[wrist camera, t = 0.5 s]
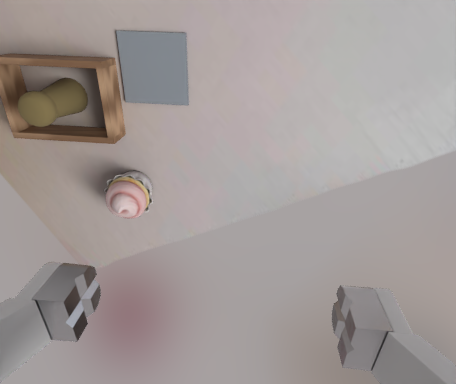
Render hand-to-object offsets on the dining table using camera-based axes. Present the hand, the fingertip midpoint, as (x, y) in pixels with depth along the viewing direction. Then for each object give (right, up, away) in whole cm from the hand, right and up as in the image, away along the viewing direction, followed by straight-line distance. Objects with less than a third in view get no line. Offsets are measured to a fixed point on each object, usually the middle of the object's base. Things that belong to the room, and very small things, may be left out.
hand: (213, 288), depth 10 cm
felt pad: (-12, +23, +40) cm, 48 cm away
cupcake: (-18, +5, +52) cm, 55 cm away
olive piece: (-27, +20, +44) cm, 55 cm away
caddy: (-27, +20, +44) cm, 55 cm away
